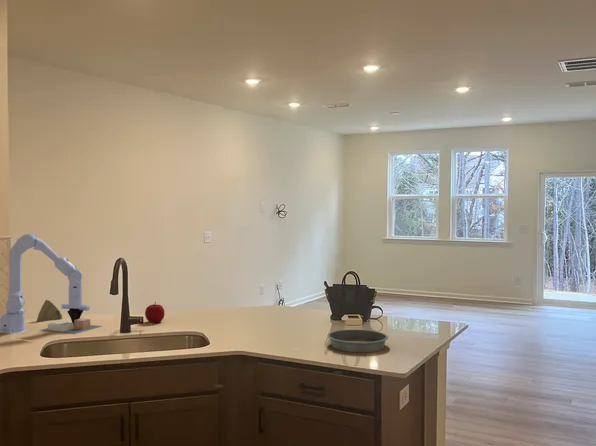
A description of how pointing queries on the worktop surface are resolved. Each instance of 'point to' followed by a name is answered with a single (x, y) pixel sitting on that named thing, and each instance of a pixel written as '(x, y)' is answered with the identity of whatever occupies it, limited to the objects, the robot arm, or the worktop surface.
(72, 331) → the mat
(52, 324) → the white flat block
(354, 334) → the cake pan
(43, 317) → the rock
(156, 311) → the apple
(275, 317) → the worktop surface
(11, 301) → the robot arm
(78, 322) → the stub
